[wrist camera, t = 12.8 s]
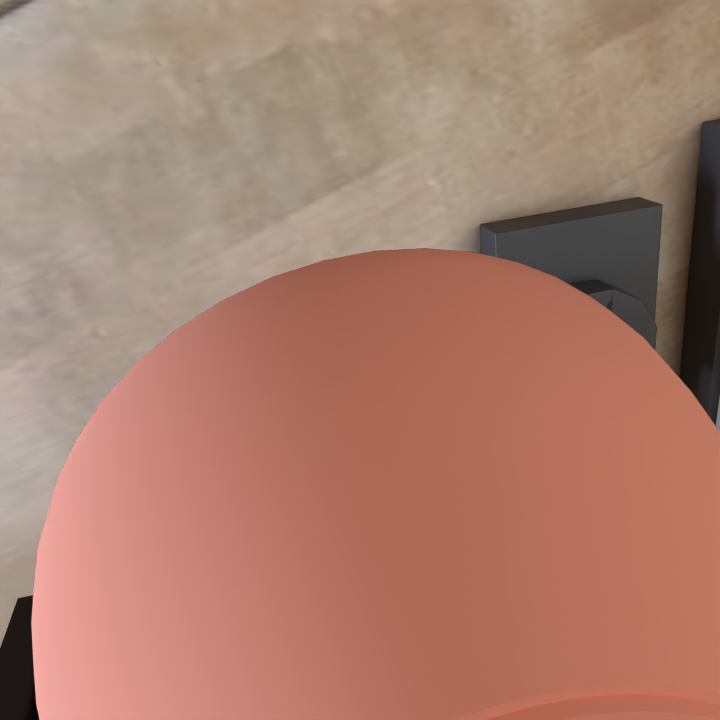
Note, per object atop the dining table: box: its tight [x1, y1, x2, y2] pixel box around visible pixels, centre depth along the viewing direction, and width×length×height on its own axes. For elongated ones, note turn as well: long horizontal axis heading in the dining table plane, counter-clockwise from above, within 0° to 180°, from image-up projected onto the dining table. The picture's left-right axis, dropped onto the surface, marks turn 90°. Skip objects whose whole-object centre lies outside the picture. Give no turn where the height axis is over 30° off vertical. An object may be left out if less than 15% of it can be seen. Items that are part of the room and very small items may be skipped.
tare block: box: [480, 197, 662, 350], centre depth 33 cm, size 12×8×4 cm, turn 7°
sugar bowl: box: [31, 248, 720, 720], centre depth 11 cm, size 12×14×10 cm
